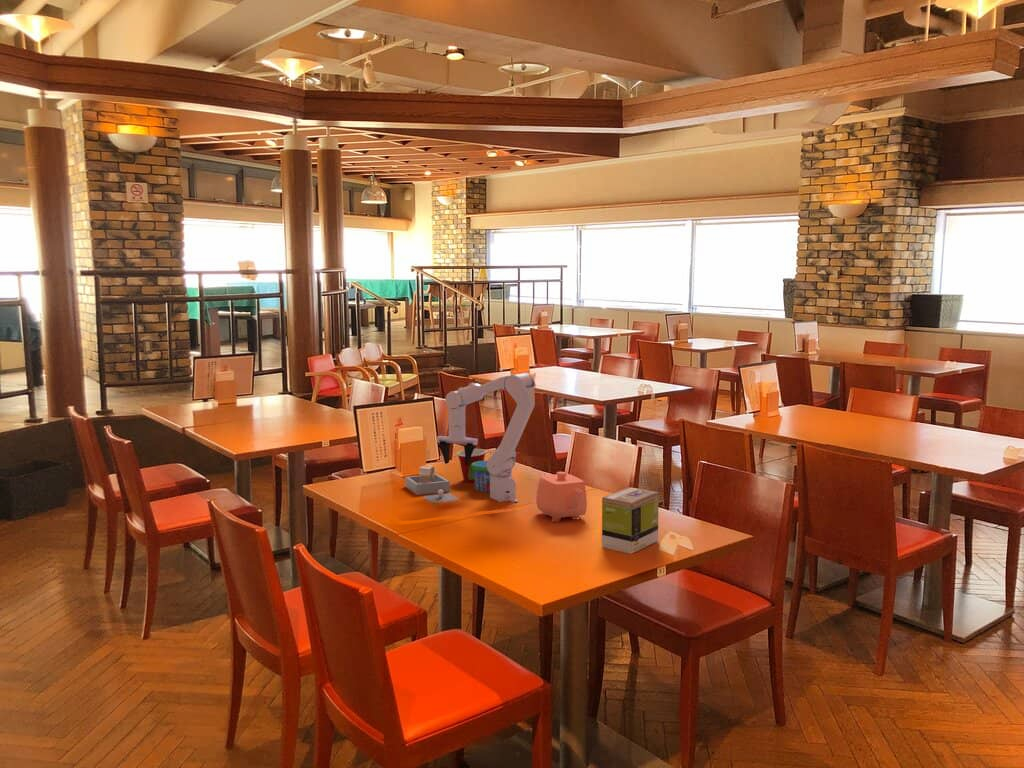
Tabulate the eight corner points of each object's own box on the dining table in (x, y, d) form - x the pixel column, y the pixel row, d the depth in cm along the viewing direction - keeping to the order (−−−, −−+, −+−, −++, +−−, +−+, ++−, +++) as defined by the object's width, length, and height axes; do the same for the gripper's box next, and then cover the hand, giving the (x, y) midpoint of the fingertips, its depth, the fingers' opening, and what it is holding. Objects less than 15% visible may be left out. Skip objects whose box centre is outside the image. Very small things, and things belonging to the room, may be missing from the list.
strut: (429, 491, 284) (429, 468, 283) (419, 490, 285) (419, 467, 284) (434, 488, 288) (434, 466, 287) (424, 487, 289) (423, 465, 288)
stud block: (460, 502, 273) (460, 491, 272) (431, 506, 268) (431, 494, 268) (448, 495, 282) (448, 484, 281) (421, 498, 277) (421, 487, 277)
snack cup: (460, 490, 289) (460, 462, 288) (482, 485, 296) (482, 458, 295) (491, 498, 278) (491, 468, 277) (513, 493, 285) (513, 464, 284)
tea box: (628, 534, 240) (630, 485, 238) (658, 542, 234) (660, 491, 232) (600, 547, 229) (601, 495, 227) (631, 555, 222) (633, 502, 220)
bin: (449, 493, 284) (449, 481, 283) (416, 497, 279) (416, 484, 278) (437, 486, 295) (437, 473, 294) (405, 489, 289) (405, 476, 289)
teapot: (596, 524, 251) (597, 478, 249) (559, 528, 245) (560, 482, 244) (563, 505, 270) (564, 463, 269) (528, 509, 265) (529, 467, 264)
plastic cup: (454, 480, 304) (455, 448, 302) (483, 479, 306) (484, 447, 304) (458, 487, 293) (458, 454, 292) (488, 486, 295) (488, 453, 294)
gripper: (480, 424, 284) (480, 463, 285) (442, 422, 288) (442, 460, 290) (473, 428, 277) (473, 467, 279) (434, 425, 282) (434, 464, 283)
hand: (457, 463), depth 284 cm, fingers open, 7 cm apart
